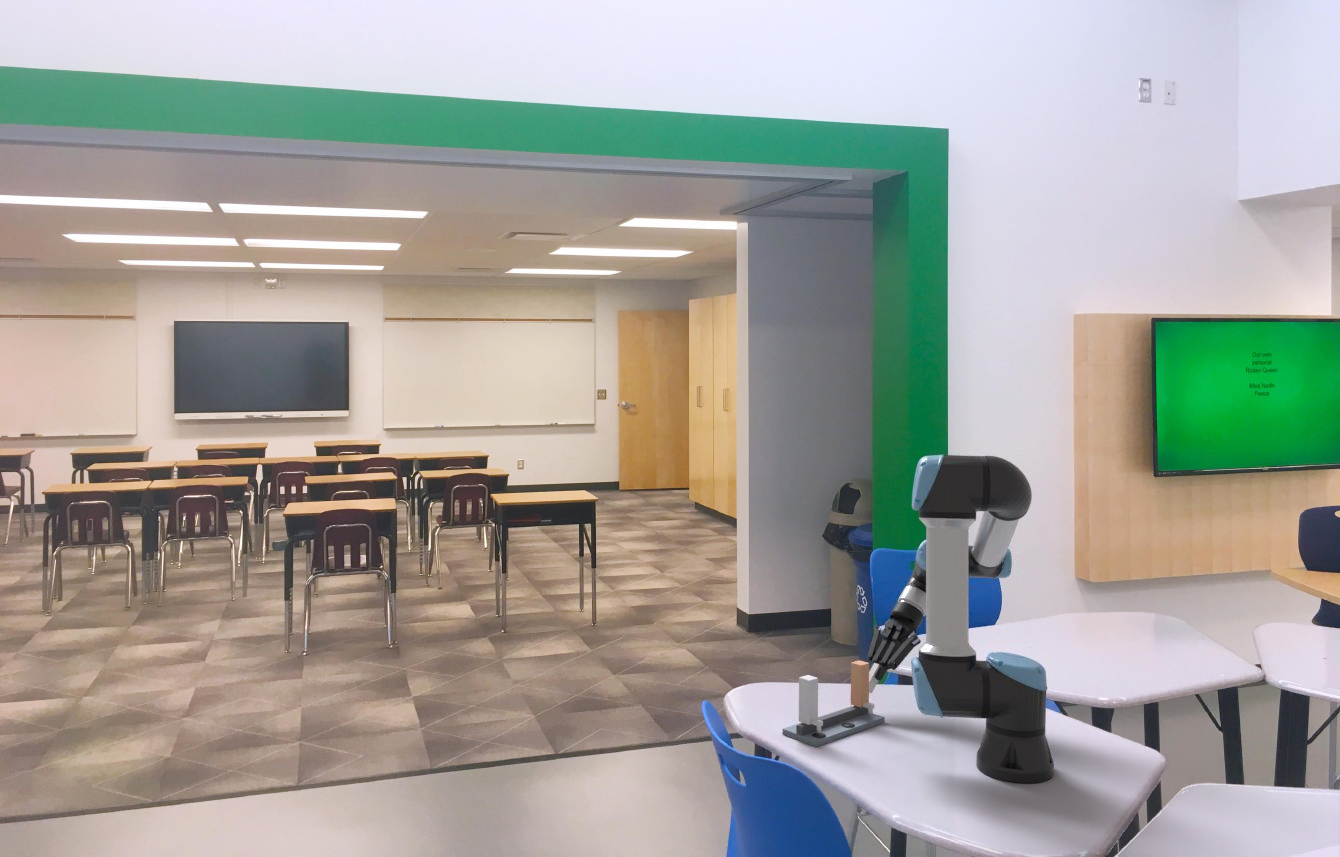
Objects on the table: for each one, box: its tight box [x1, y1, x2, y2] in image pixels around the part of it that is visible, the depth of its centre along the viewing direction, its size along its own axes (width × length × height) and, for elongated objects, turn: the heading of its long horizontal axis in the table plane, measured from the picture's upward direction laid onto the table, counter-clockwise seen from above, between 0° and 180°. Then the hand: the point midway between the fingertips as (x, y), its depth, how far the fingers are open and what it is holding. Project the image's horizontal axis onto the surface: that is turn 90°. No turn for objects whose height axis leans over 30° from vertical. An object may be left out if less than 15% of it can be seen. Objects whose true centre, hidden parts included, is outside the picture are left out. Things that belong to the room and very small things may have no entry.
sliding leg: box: [850, 659, 875, 715], centre depth 236 cm, size 3×5×11 cm, turn 40°
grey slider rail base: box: [782, 674, 886, 747], centre depth 231 cm, size 24×10×14 cm, turn 130°
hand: (866, 689), depth 239 cm, fingers closed
